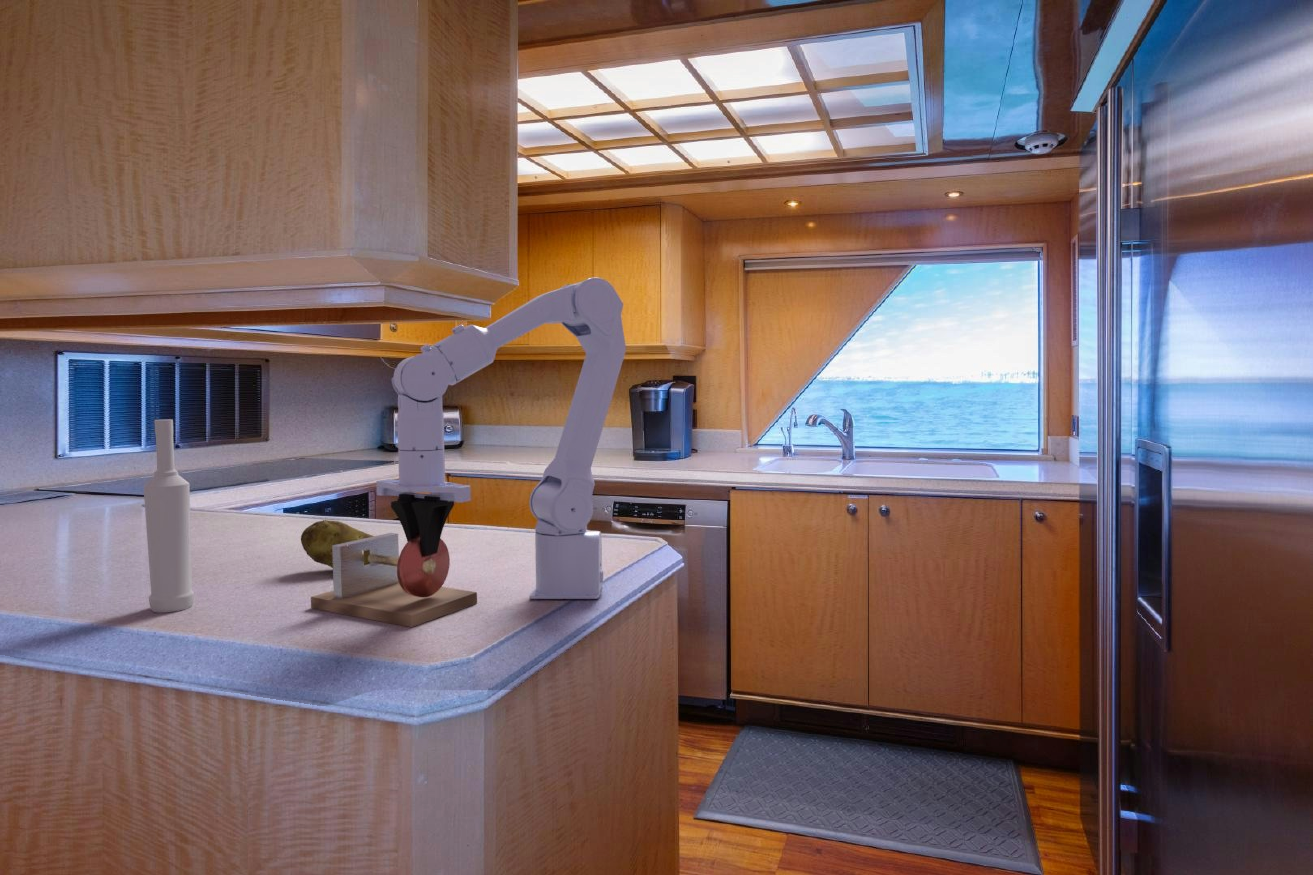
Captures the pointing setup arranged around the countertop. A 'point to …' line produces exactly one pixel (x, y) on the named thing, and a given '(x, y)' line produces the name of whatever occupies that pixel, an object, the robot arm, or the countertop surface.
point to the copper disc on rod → (418, 568)
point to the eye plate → (352, 571)
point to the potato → (329, 540)
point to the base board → (396, 604)
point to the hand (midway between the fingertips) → (423, 553)
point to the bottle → (168, 529)
